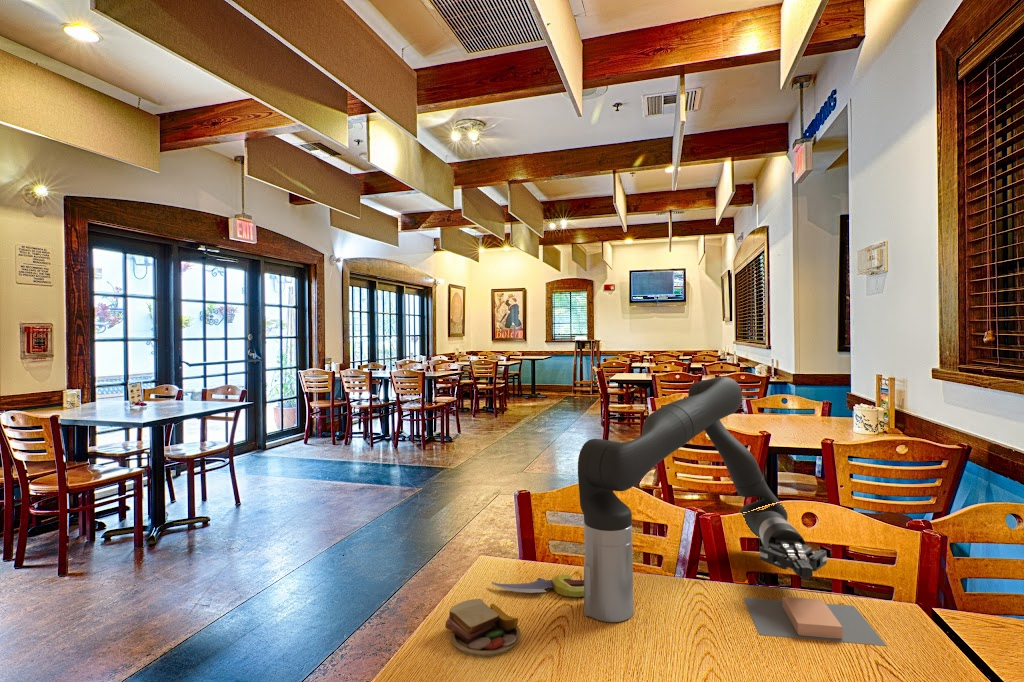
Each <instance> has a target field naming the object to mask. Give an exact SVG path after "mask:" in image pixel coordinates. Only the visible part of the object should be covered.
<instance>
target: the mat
mask: <svg viewBox="0 0 1024 682" xmlns="http://www.w3.org/2000/svg"><path fill="white" fill-rule="evenodd" d="M742 599H743V601H744V603H745V605H746V608H747V611H748V612H749V615H750V616H751V620H752V622H753V624H754V626H755V628H756V631H757V634H758V635H759V636H765V637H767V636H768V637H780V638H788V639H789V638H790V639H799V640H800V639H801V640H812V641H813V640H814V641H822V642H823V641H824V642H835V643H847V644H856V645H857V644H859V645H872V646H880V647H881V646H884V647H888V645H887V643H885V642H884V640H883V639H882V637H881V636H880V635H879V634H878V633H877V632H876V630H875V629H874V628H873V626H872V625H871V624H870V623H869V622H868V621H867V620H866V618H865V617H864V616H863V614H861V612H860V611H859V610H858V609H857V608H856V606H855V605H851V604H850V605H849V604H836V603H825V604H826V605H827V606H828V608H829V609H830V610H831V612H832V613H833V615H834V616H835V617H836V619H837V620H838V621H839V623H840V624H841V626H842V628H843V639H842V638H841V639H836V638H824V637H813V636H801V635H798V633H797V632H796V630H795V628H794V626H793V625H792V623H791V621H790V619H789V617H788V616H787V614H786V612H785V610H784V609H783V602H782V599H771V598H770V599H769V598H757V597H742Z"/></svg>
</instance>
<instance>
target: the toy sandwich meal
mask: <svg viewBox="0 0 1024 682" xmlns="http://www.w3.org/2000/svg"><path fill="white" fill-rule="evenodd" d="M448 614H449V616H448V618H447V620H446V621H445V629H447V630H449V631H451V632H450V641H451V643H452V644H453V645H454V647H456V648H457V650H459V651H460V652H462V653H464V654H466V655H470V656H473V657H474V656H475V657H486V658H487V657H495V656H498V655H501V654H504V653H506V652H507V651H509V650H511V649H512V648H513V647H514V646H515V645H517V643H518V642H519V640H520V638H521V635H522V634H521V633H522V632H521V629H520V627H519V625H518V624H519V618H518V617H513V616H511V615H508V614H507V613H506V612H505V611H503V610H502V609H501V608H500V607H498V606H497V605H496V604H495V603H491V604H489V605H488V604H487V603H485V602H484V601H483V599H482V598H473V599H467V600H464V601H461V602H459V603H456V604H455V605H453V606H452V607H451V608H450V609H449V613H448Z"/></svg>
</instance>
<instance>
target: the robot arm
mask: <svg viewBox="0 0 1024 682" xmlns="http://www.w3.org/2000/svg"><path fill="white" fill-rule="evenodd" d="M687 395H688V396H687V397H684V398H681V399H677V400H675V401H672V402H670V403H667V404H664V405H663V406H661V407H659V408H658V409H656V410H654V411H653V412H651V413H650V414H648V416H647V417H646V418H645V420H644V421H643V425H642V429H641V435H639V436H638V437H636V438H635V439H632V440H630V441H625V442H620V441H614V440H608V439H602V438H591V439H588V440H587V441H586V442H585V443H584V444H583V445H582V446H581V449H580V452H579V453H578V454H579V455H578V459H577V480H578V493H579V495H578V497H579V505H580V509H581V511H582V514H583V528H584V529H583V530H584V531H583V535H584V536H583V538H584V539H583V540H584V564H583V580H584V596H583V602H584V603H583V604H584V607H583V608H584V613H583V614H584V617H590V618H592V619H595V620H597V621H599V622H600V621H601V622H605V623H621V622H624V621H626V620H629V619H631V618H632V617H633V615H634V612H635V611H634V610H635V609H634V602H635V601H634V600H635V599H634V571H633V570H634V568H633V566H634V565H633V564H634V561H633V557H634V555H633V515H632V514H633V513H632V509H630V507H629V506H628V505H627V504H625V502H624V501H622V500H621V499H620V498H619V497H618V496H617V495H616V493H615V492H626V491H628V490H630V489H631V488H633V487H634V486H635V485H637V484H638V483H639V482H640V481H641V480H642V479H643V478H644V477H646V475H647V474H648V473H649V472H651V470H652V469H653V468H655V466H656V465H658V464H659V463H660V462H661V461H663V460H665V459H666V458H667V457H668V456H670V455H671V454H673V453H674V452H675V451H677V450H679V449H680V448H682V447H684V446H685V445H686V444H687V443H689V442H690V441H691V440H693V439H694V438H695V437H696V436H698V435H700V434H701V433H702V432H705V433H706V435H707V436H708V438H709V440H710V441H711V444H713V446H714V448H715V449H716V450H717V452H718V454H719V456H720V457H721V459H722V461H723V463H724V465H725V466H726V470H727V472H728V474H729V477H730V479H731V481H732V483H733V486H734V488H735V491H736V492H737V494H738V495H739V496H740V497H743V498H758V497H759V498H761V499H760V500H756V501H753V502H751V503H750V502H749V503H747V504H745V505H743V506H742V507H741V508H740V511H739V514H740V513H742V514H745V515H743V517H744V518H745V521H746V524H747V525H748V527H749V528H750V530H751V531H752V532H753V533H754V534H755V535H756V536H755V537H757V536H758V537H757V538H759V539H760V541H761V544H762V546H759V560H760V561H762V562H765V563H767V564H770V565H771V566H774V567H777V568H780V569H782V570H787V569H790V570H791V571H792V572H794V573H795V575H797V576H798V577H800V578H801V579H805V580H811V577H813V574H814V572H817V571H819V570H820V569H821V568H823V567H824V566H826V565H827V561H828V559H827V550H824V549H819V550H813V548H812V547H810V546H809V545H807V542H806V541H805V539H804V537H803V536H802V535H801V534H800V533H799V531H798V530H797V529H796V528H795V527H794V526H793V525H792V524H791V523H790V522H789V521H788V518H789V517H788V511H787V509H786V508H785V506H784V505H783V504H782V503H777V504H775V505H774V506H773V505H772V506H771V505H770V507H768V508H766V509H764V510H759V509H757V510H759V511H757V510H754V511H751V510H753V509H756V508H758V507H762V506H765V505H768V504H772V503H776V502H781V501H780V500H779V498H777V496H776V495H775V494H774V493H773V491H772V490H771V489H770V487H769V486H768V484H767V482H766V480H765V478H764V476H763V473H762V471H761V469H760V466H759V463H758V461H757V460H756V458H755V457H754V454H752V452H751V451H750V450H749V449H748V448H747V447H746V446H744V444H743V443H741V442H740V441H739V440H738V439H737V438H736V437H734V435H732V434H731V433H730V432H729V430H728V429H727V428H726V427H725V426H724V424H723V422H722V421H721V420H722V419H723V418H725V417H726V418H727V417H729V416H730V415H733V414H734V413H736V412H737V411H738V410H739V408H740V407H741V404H742V402H743V392H742V389H741V387H740V385H739V383H738V381H736V380H735V379H733V378H730V377H727V376H718V377H712V378H708V379H704V380H700V381H696V382H693V383H692V384H691V385H690V387H689V389H688V394H687ZM780 504H782V505H783V506H784V507H783V506H782V505H780ZM763 508H764V507H763ZM784 508H785V509H786V510H785V509H784ZM760 509H762V508H760ZM748 511H750V512H748ZM786 511H787V512H786ZM743 512H747V513H743Z"/></svg>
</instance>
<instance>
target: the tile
mask: <svg viewBox="0 0 1024 682" xmlns="http://www.w3.org/2000/svg"><path fill="white" fill-rule="evenodd" d="M781 598H782V599H781V600H782V602H783V609H784V610H785V612H786V614H787V616H788V617H789V619H790V621H791V623H792V625H793V626H794V628H795V630H796V632H797V633H798V635H801V636H813V637H824V638H836V639H841V638H842V639H843V628H842V626H841V624H840V623H839V621H838V620H837V619H836V617H835V616H834V615H833V613H832V612H831V610H830V609H829V608H828V606H827V605H826V604H827V603H826V602H825V601H824V600H823V598H821V599H820V598H810V597H809V598H807V597H806V598H805V597H794V596H782V597H781Z"/></svg>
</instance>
